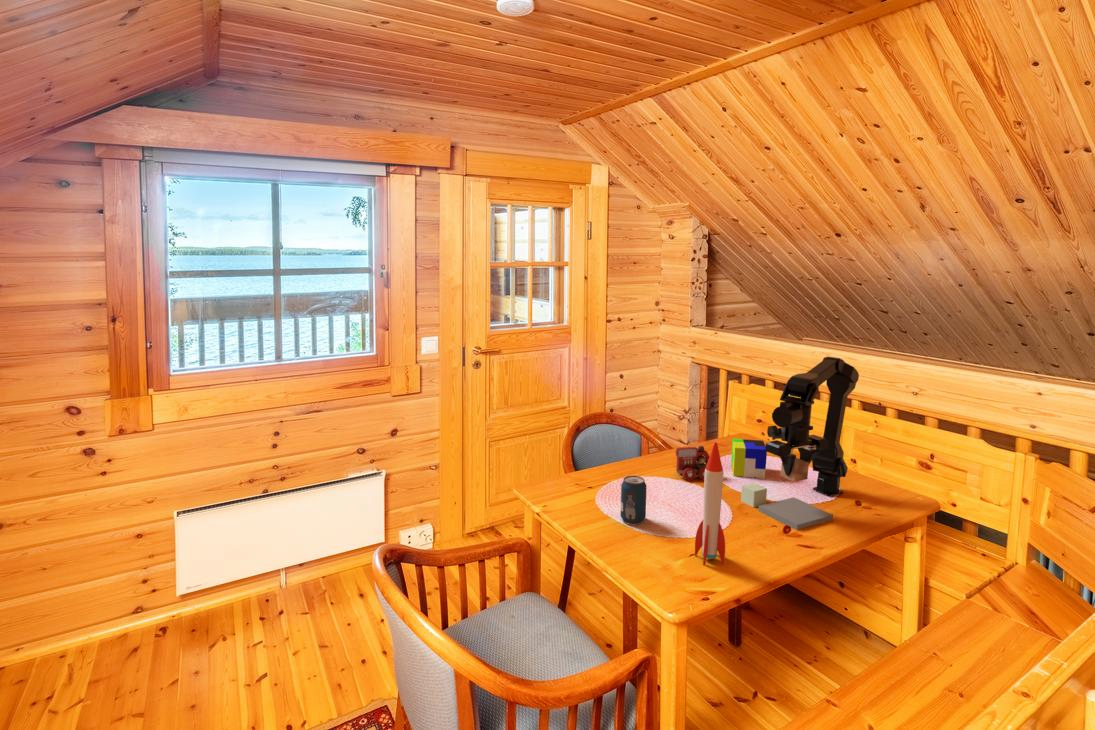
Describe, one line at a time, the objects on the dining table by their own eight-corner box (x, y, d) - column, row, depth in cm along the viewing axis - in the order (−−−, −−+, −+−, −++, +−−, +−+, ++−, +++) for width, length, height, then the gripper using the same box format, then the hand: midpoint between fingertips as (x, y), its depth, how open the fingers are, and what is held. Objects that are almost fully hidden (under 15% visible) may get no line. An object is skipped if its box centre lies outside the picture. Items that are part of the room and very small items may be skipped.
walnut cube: (793, 473, 185) (795, 457, 184) (807, 479, 180) (808, 462, 179) (780, 476, 182) (782, 459, 182) (794, 481, 178) (795, 464, 177)
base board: (793, 501, 190) (793, 497, 190) (832, 519, 178) (833, 514, 178) (758, 510, 184) (758, 505, 184) (796, 529, 172) (797, 524, 171)
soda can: (640, 514, 181) (642, 474, 179) (648, 524, 175) (650, 483, 173) (617, 515, 180) (618, 475, 178) (624, 526, 174) (625, 484, 171)
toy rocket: (694, 555, 158) (698, 439, 152) (715, 553, 159) (720, 437, 153) (703, 566, 152) (708, 446, 147) (725, 564, 153) (731, 444, 148)
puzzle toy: (764, 478, 209) (767, 449, 207) (733, 476, 211) (735, 447, 209) (761, 468, 219) (763, 440, 217) (731, 466, 220) (732, 438, 219)
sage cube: (753, 498, 193) (754, 482, 192) (765, 504, 189) (767, 488, 188) (741, 501, 191) (741, 485, 190) (753, 507, 186) (754, 491, 185)
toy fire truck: (715, 479, 208) (717, 449, 206) (679, 481, 206) (680, 451, 204) (706, 472, 215) (708, 442, 213) (671, 474, 213) (672, 444, 211)
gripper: (800, 411, 189) (796, 461, 192) (753, 417, 181) (749, 469, 184) (832, 420, 179) (826, 473, 182) (782, 427, 171) (778, 482, 174)
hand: (794, 474), depth 181 cm, fingers closed on walnut cube, 5 cm apart
